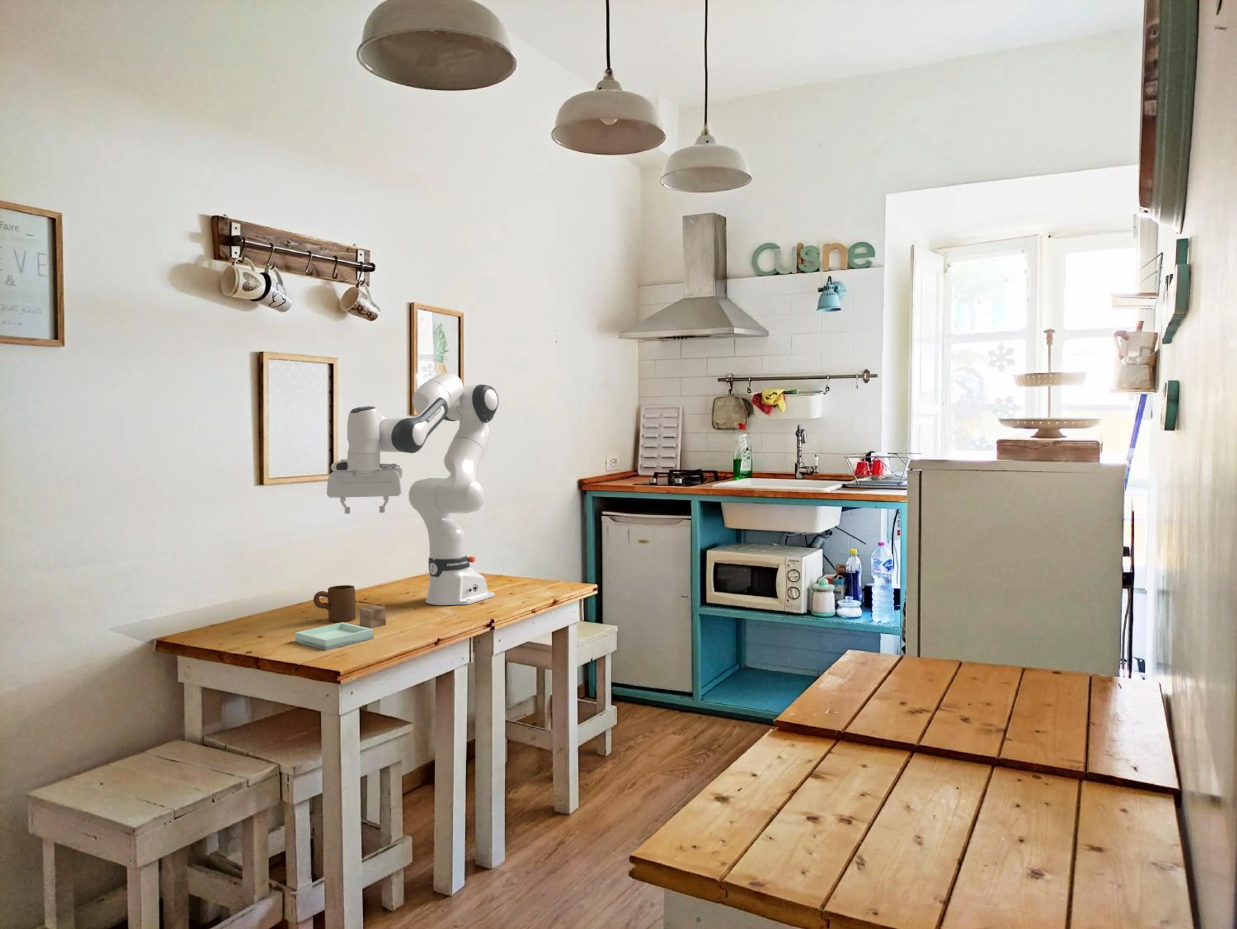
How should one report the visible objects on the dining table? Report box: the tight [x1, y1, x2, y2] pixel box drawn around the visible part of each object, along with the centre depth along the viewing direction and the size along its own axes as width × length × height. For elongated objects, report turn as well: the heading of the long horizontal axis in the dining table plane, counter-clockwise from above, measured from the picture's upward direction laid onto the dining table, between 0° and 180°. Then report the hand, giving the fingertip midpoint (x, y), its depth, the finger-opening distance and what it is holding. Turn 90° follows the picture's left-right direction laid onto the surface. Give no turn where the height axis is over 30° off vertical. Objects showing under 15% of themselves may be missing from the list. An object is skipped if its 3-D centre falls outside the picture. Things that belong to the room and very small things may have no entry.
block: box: [359, 605, 387, 629], centre depth 240 cm, size 5×5×5 cm
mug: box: [313, 584, 357, 623], centre depth 246 cm, size 12×8×9 cm, turn 132°
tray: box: [294, 622, 375, 651], centre depth 224 cm, size 14×14×2 cm
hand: (364, 513), depth 242 cm, fingers open, 8 cm apart
